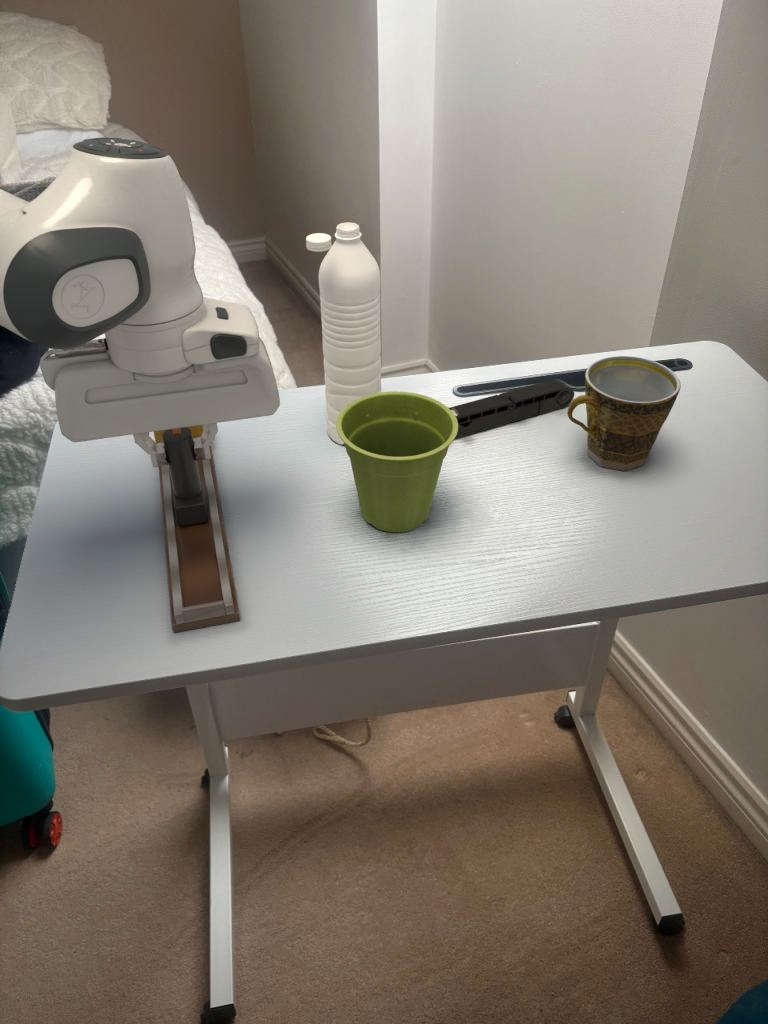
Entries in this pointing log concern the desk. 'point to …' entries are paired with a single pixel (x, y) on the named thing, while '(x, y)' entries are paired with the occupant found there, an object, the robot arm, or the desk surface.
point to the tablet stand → (512, 406)
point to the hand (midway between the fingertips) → (182, 459)
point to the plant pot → (396, 454)
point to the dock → (194, 429)
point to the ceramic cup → (625, 409)
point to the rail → (198, 559)
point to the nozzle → (185, 477)
